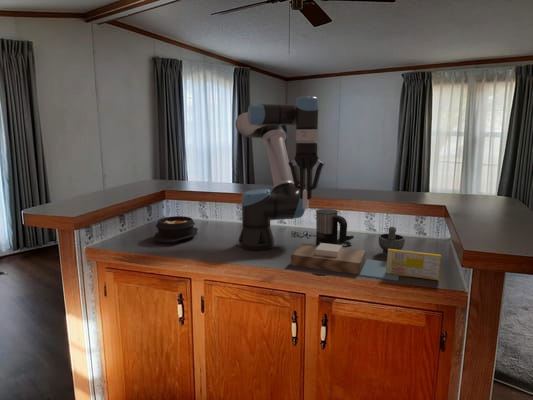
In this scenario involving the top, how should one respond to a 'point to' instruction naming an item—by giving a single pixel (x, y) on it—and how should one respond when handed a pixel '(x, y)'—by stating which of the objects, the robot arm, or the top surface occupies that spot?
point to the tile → (328, 250)
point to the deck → (329, 259)
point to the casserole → (174, 229)
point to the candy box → (413, 264)
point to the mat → (377, 270)
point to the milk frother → (330, 227)
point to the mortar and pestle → (391, 241)
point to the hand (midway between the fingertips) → (305, 208)
